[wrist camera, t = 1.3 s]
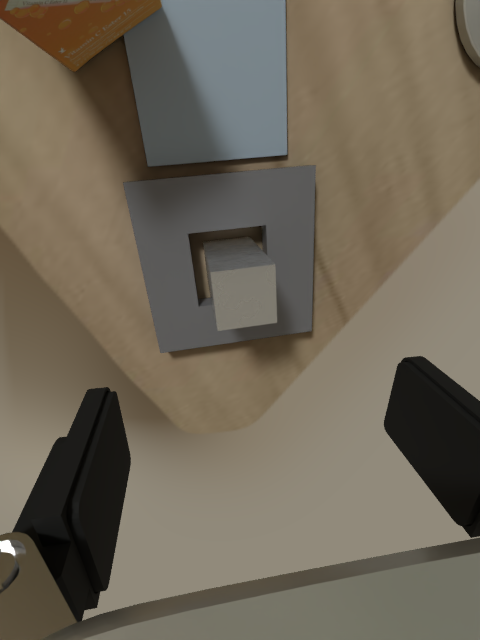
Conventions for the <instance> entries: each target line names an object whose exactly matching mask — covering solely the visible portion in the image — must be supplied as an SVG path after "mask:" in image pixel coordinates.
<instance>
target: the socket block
mask: <svg viewBox="0 0 480 640" xmlns="http://www.w3.org/2000/svg"><path fill="white" fill-rule="evenodd" d="M315 171H316V165H307V166H296V167H285V168H274V169H263V170H252V171H241V172H229V173H218V174H207V175H196V176H185V177H174V178H163V179H152V180H141V181H130V182H124V183H123V185H124V190H125V194H126V199H127V203H128V208H129V212H130V217H131V221H132V226H133V230H134V235H135V240H136V244H137V249H138V253H139V258H140V262H141V267H142V271H143V276H144V280H145V285H146V289H147V294H148V299H149V303H150V308H151V312H152V317H153V321H154V326H155V330H156V335H157V339H158V344H159V349H160V353H165V352H171V351H178V350H185V349H192V348H199V347H206V346H213V345H219V344H226V343H233V342H240V341H247V340H254V339H260V338H267V337H274V336H281V335H288V334H295V333H301V332H308V331H312V300H313V257H314V214H315ZM254 226H262V245H263V252H264V253H265V254H266V255H267V256H268V257H269V258H270V259H271V260H272V261H273V262H274V263H275V268H276V301H277V323H271V324H264V325H257V326H250V327H243V328H236V329H229V330H222V331H218V330H217V326H216V321H215V316H214V311H213V306H212V301H211V298H204V299H198V296H197V289H196V282H195V276H194V269H193V262H192V255H191V248H190V242H189V235H188V234H190V233H199V232H208V231H218V230H227V229H236V228H245V227H254Z"/></svg>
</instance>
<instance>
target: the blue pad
mask: <svg viewBox="0 0 480 640" xmlns="http://www.w3.org/2000/svg"><path fill="white" fill-rule="evenodd" d="M161 2H162V7H161V8H160V9H159V10H157V11H156V12H154V13H153V14H151V15H150V16H149V17H147V18H146V19H144V20H143V21H141V22H140V23H139V24H137V25H136V26H134V27H133V28H132V29H130V30H129V31H127V32H126V33H125V34H123V35H124V40H125V45H126V51H127V56H128V62H129V67H130V72H131V78H132V83H133V89H134V94H135V99H136V105H137V110H138V116H139V121H140V127H141V132H142V137H143V143H144V148H145V154H146V159H147V164H148V167H151V166H163V165H175V164H186V163H198V162H209V161H221V160H233V159H244V158H256V157H268V156H279V155H287V89H286V5H285V0H161Z"/></svg>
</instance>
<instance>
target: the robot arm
mask: <svg viewBox="0 0 480 640" xmlns="http://www.w3.org/2000/svg"><path fill="white" fill-rule="evenodd" d="M455 7H456V20H457V27H458V31H459V35H460V39H461V42H462V44H463V46H464V48H465V50H466V53H467V54H468V55H469V57H470V58H471V59H472V61H473V62H474V63H475V64H476V65H477V66H479V67H480V0H456V3H455ZM384 427H385V430H386V432H387V434H388V435H389V436H390V438H391V439H392V440H393V441H394V443H395V444H396V446H397V447H398V448H399V449H400V451H401V452H402V453H403V455H404V456H405V457H406V459H407V460H408V461H409V463H410V464H411V465H412V466H413V468H414V469H415V470H416V472H417V473H418V474H419V476H420V477H421V478H422V479H423V481H424V482H425V483H426V485H427V486H428V487H429V489H430V490H431V491H432V493H433V494H434V495H435V497H436V498H437V499H438V501H439V502H440V503H441V504H442V506H443V507H444V508H445V510H446V511H447V512H448V514H449V515H450V516H451V518H452V519H453V520H454V521H455V522H456V523H457V524H458V525H460V526H462V527H463V528H464V529H465V531H466V532H467V533H468V534H469V536H470V537H471V538H472V537H477V536H480V401H479V400H478V399H476V398H475V397H474V396H472V395H471V394H470V393H468V392H467V391H466V390H465V389H464V388H462V387H461V386H460V385H459V384H457V383H456V382H455V381H453V380H452V379H451V378H450V377H448V376H447V375H446V374H445V373H443V372H442V371H441V370H440V369H438V368H437V367H436V366H435V365H433V364H432V363H431V362H430V361H428V360H427V359H426V358H424V357H421V356H417V357H407V358H404V359H403V360H402V361H401V363H399V364H398V366H397V370H396V374H395V378H394V382H393V386H392V391H391V395H390V399H389V403H388V408H387V411H386V416H385V420H384ZM130 460H131V458H130V451H129V447H128V442H127V438H126V433H125V428H124V424H123V419H122V415H121V410H120V406H119V401H118V397H117V393H116V392H115V391H113V392H110V389H109V388H108V387H106V388H95V389H89V390H87V392H86V394H85V397H84V399H83V401H82V403H81V406H80V408H79V410H78V412H77V415H76V417H75V419H74V421H73V424H72V426H71V428H70V431H69V433H68V435H67V437H60V438H58V439H57V440H56V442H55V443H54V445H53V447H52V449H51V451H50V453H49V456H48V458H47V460H46V462H45V464H44V466H43V468H42V470H41V472H40V475H39V477H38V479H37V481H36V483H35V485H34V487H33V489H32V491H31V494H30V496H29V498H28V500H27V502H26V504H25V506H24V508H23V510H22V513H21V515H20V517H19V519H18V521H17V523H16V525H15V528H14V529H13V532H12V533H5V534H3V535H0V640H480V538H476V539H470V540H465V541H459V542H454V543H448V544H443V545H437V546H432V547H426V548H421V549H416V550H410V551H405V552H399V553H394V554H389V555H384V556H379V557H373V558H368V559H362V560H357V561H352V562H346V563H341V564H336V565H330V566H325V567H320V568H314V569H309V570H304V571H299V572H294V573H289V574H283V575H278V576H274V577H268V578H263V579H258V580H253V581H247V582H242V583H237V584H232V585H227V586H222V587H216V588H212V589H206V590H202V591H197V592H192V593H188V594H183V595H178V596H174V597H169V598H164V599H160V600H155V601H150V602H146V603H141V604H137V605H133V606H129V607H125V608H122V609H118V610H115V611H111V612H107V613H103V614H100V615H97V616H94V617H92V618H89V619H86V620H83V621H82V618H83V614H84V610H88V609H93V608H97V605H98V600H99V595H100V591H105V590H106V589H107V588H108V584H109V580H110V575H111V569H112V563H113V558H114V553H115V547H116V542H117V536H118V531H119V525H120V520H121V514H122V509H123V503H124V498H125V492H126V487H127V481H128V476H129V471H130V463H131V461H130Z"/></svg>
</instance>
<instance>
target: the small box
mask: <svg viewBox="0 0 480 640" xmlns="http://www.w3.org/2000/svg"><path fill="white" fill-rule="evenodd" d="M161 7H162V2H161V0H0V19H1V20H3V21H4V22H5V23H7V24H8V25H10V26H11V27H12V28H14V29H15V30H16V31H18V32H19V33H21V34H22V35H23V36H25V37H26V38H27V39H29V40H30V41H31V42H33V43H34V44H35V45H37V46H38V47H39V48H41V49H42V50H43V51H45V52H46V53H48V54H49V55H50V56H52V57H53V58H55V59H56V60H57V61H59V62H60V63H62V64H63V65H64V66H66V67H67V68H68V69H70V70H71V71H73V72H75V71H77V70H78V69H79V68H80V67H81V66H82V65H84V64H85V63H86V62H87V61H89V60H90V59H91V58H92V57H94V56H95V55H96V54H98V53H99V52H100V51H102V50H103V49H104V48H106V47H107V46H108V45H110V44H111V43H112V42H114V41H115V40H116V39H118V38H119V37H120V36H122V35H123V34H125V33H126V32H127V31H129V30H130V29H132V28H133V27H134V26H136V25H137V24H139V23H140V22H141V21H143V20H144V19H146V18H147V17H149V16H150V15H151V14H153V13H154V12H156V11H157V10H159V9H160V8H161Z"/></svg>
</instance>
